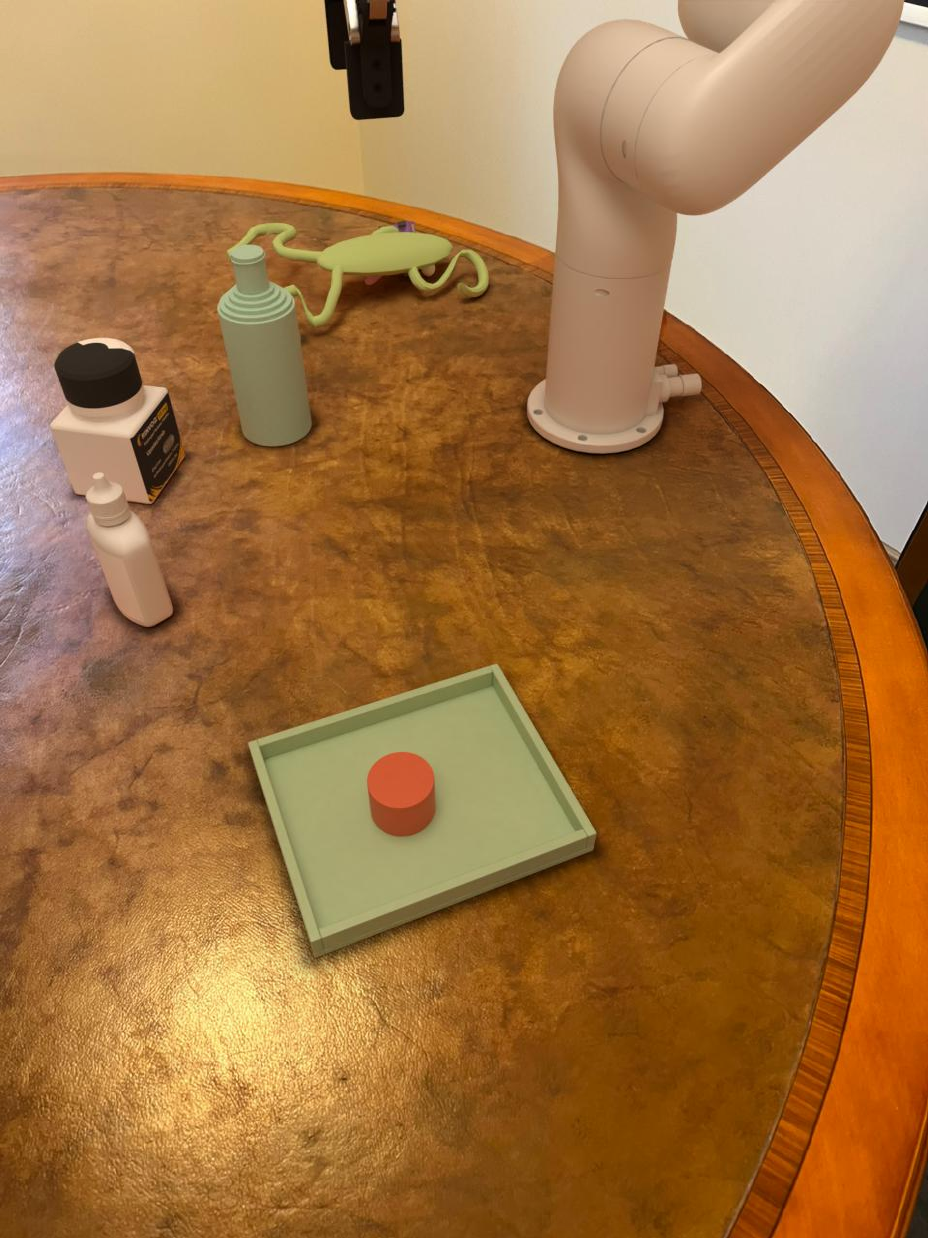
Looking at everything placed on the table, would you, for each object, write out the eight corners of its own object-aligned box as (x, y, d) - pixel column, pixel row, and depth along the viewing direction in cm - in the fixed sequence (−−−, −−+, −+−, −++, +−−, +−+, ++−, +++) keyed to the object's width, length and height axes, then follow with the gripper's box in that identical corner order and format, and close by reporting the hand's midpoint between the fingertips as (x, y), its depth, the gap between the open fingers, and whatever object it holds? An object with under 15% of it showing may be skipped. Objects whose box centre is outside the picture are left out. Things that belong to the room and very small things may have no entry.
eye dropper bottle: (113, 636, 67) (61, 507, 59) (113, 584, 71) (65, 455, 62) (175, 625, 68) (133, 496, 59) (172, 574, 72) (132, 446, 63)
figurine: (223, 273, 107) (214, 225, 103) (436, 231, 115) (435, 184, 111) (270, 349, 95) (262, 297, 91) (503, 296, 103) (505, 246, 99)
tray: (496, 681, 64) (497, 662, 63) (593, 850, 55) (597, 833, 54) (252, 760, 60) (247, 742, 58) (314, 958, 51) (310, 942, 49)
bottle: (307, 403, 88) (283, 230, 76) (315, 441, 84) (291, 265, 72) (239, 411, 87) (204, 237, 75) (244, 450, 83) (207, 273, 71)
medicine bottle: (152, 506, 78) (113, 380, 69) (74, 495, 79) (25, 369, 70) (187, 456, 82) (154, 332, 74) (112, 446, 83) (71, 323, 75)
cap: (357, 820, 56) (353, 791, 54) (390, 771, 59) (387, 742, 56) (415, 847, 55) (413, 818, 53) (446, 796, 57) (446, 766, 55)
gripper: (252, -294, 52) (293, 54, 64) (278, -279, 40) (322, 144, 52) (385, -295, 53) (400, 47, 65) (449, -281, 41) (452, 134, 53)
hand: (365, 90), depth 59 cm, fingers open, 9 cm apart
